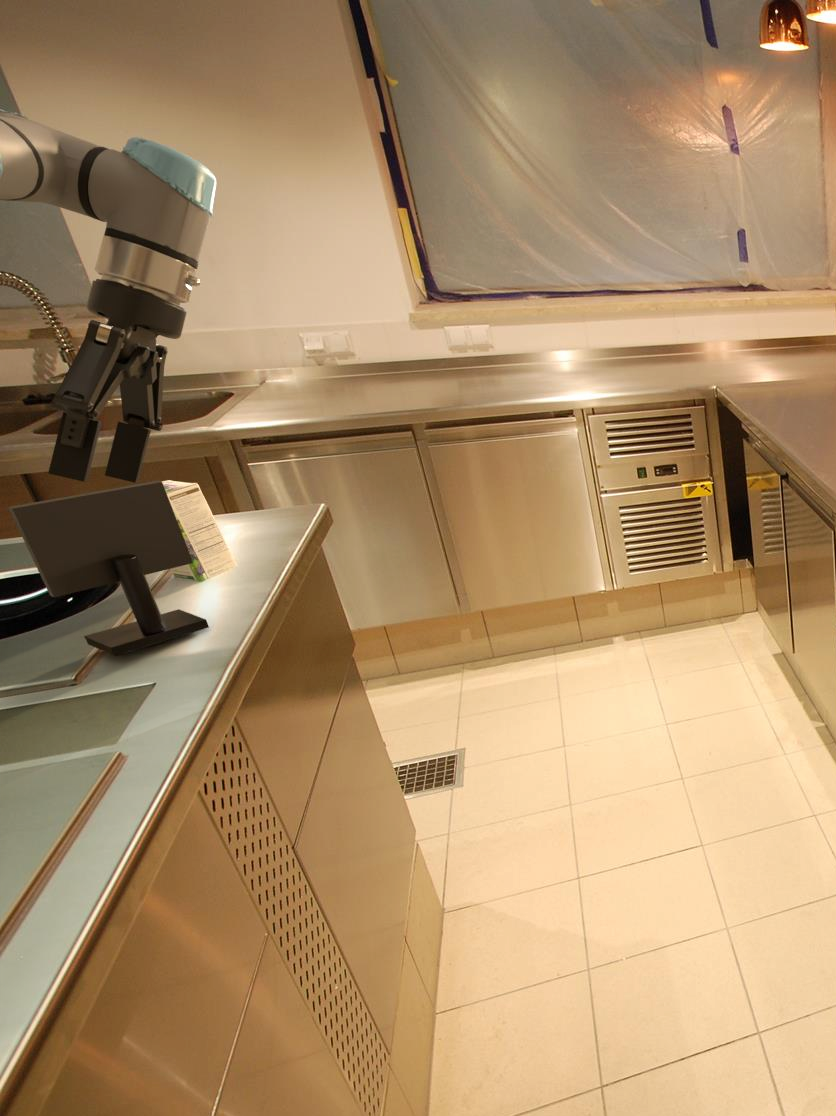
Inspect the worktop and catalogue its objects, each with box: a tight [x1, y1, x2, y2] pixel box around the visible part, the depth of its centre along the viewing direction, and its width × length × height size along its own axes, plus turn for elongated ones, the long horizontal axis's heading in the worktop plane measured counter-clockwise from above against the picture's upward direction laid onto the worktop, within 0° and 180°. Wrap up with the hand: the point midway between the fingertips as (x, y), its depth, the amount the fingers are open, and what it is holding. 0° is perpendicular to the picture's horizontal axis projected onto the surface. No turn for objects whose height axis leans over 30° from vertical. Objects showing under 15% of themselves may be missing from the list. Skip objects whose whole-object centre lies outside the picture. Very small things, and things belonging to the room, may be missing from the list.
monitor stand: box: [83, 554, 210, 657], centre depth 107 cm, size 10×7×11 cm
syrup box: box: [161, 479, 238, 583], centre depth 124 cm, size 6×6×14 cm
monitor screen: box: [8, 480, 193, 598], centre depth 104 cm, size 14×1×11 cm, turn 153°
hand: (96, 478), depth 92 cm, fingers open, 13 cm apart
